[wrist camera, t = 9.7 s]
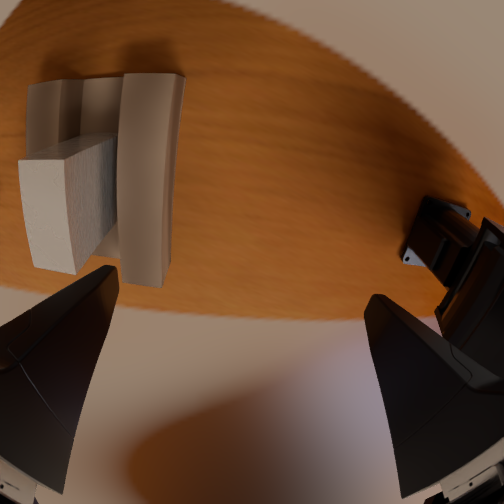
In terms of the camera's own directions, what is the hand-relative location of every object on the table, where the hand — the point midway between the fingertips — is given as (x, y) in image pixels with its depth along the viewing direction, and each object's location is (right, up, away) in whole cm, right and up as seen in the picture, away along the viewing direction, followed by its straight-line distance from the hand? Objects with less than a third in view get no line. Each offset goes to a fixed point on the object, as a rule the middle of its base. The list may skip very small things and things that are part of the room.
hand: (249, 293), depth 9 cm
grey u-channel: (-10, +7, +9) cm, 16 cm away
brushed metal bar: (-10, +7, +9) cm, 15 cm away
